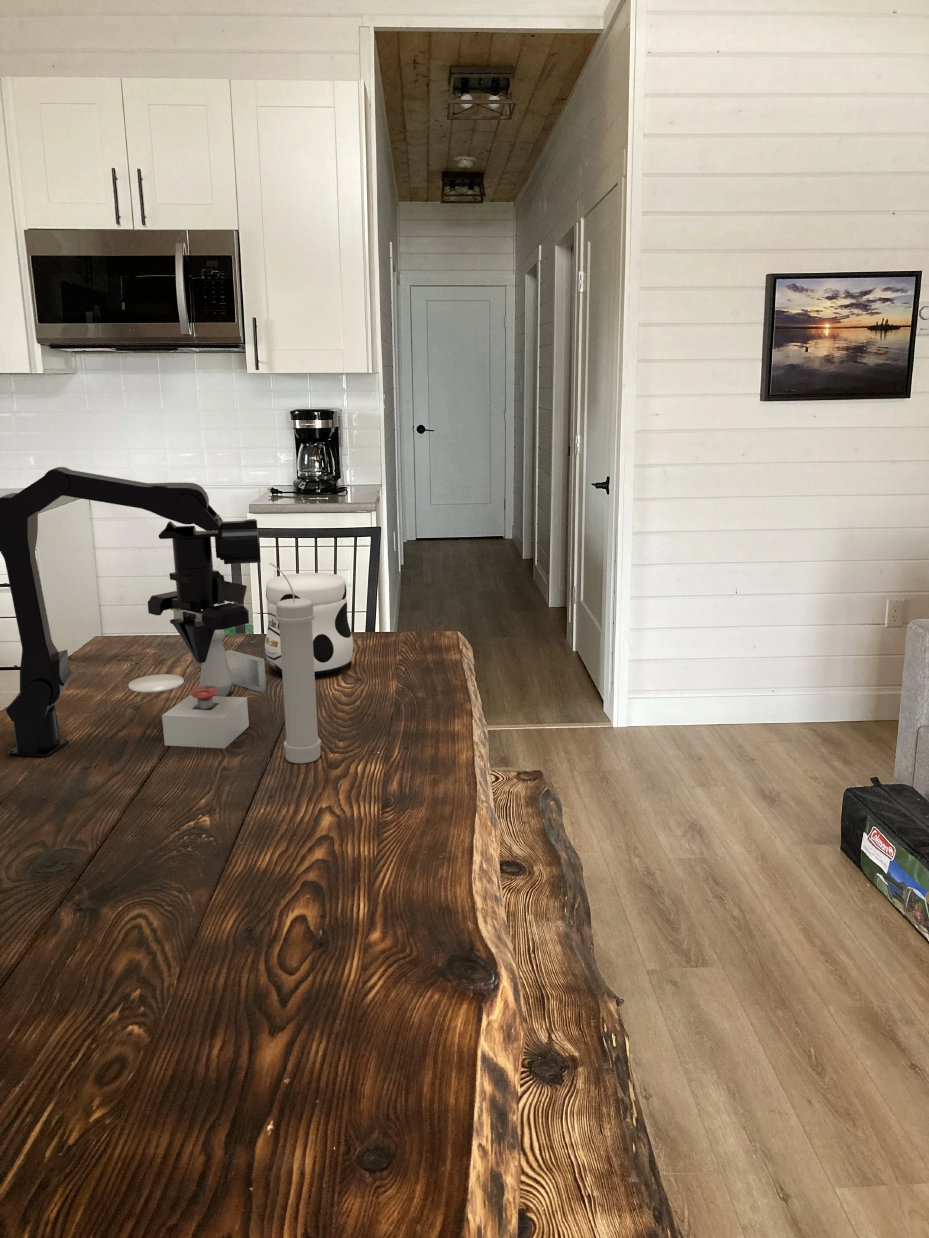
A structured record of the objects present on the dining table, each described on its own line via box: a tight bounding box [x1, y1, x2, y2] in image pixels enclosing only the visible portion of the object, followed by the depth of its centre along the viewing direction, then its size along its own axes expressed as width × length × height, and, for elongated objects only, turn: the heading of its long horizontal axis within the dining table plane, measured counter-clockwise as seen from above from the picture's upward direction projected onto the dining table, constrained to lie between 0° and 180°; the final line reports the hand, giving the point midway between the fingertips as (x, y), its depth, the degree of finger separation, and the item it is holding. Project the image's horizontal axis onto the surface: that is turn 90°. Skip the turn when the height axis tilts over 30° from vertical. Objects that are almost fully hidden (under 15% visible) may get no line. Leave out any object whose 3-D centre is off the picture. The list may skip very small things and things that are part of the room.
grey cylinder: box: [269, 562, 322, 764], centre depth 140 cm, size 6×6×30 cm
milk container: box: [264, 572, 354, 676], centre depth 187 cm, size 17×17×18 cm
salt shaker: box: [199, 629, 233, 697], centre depth 172 cm, size 6×6×13 cm
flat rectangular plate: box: [225, 649, 267, 692], centre depth 177 cm, size 2×10×6 cm, turn 51°
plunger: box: [190, 685, 217, 710], centre depth 152 cm, size 4×4×5 cm
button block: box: [161, 694, 250, 749], centre depth 152 cm, size 10×10×5 cm
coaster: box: [128, 673, 185, 693], centre depth 180 cm, size 10×10×1 cm
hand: (201, 662), depth 150 cm, fingers closed
